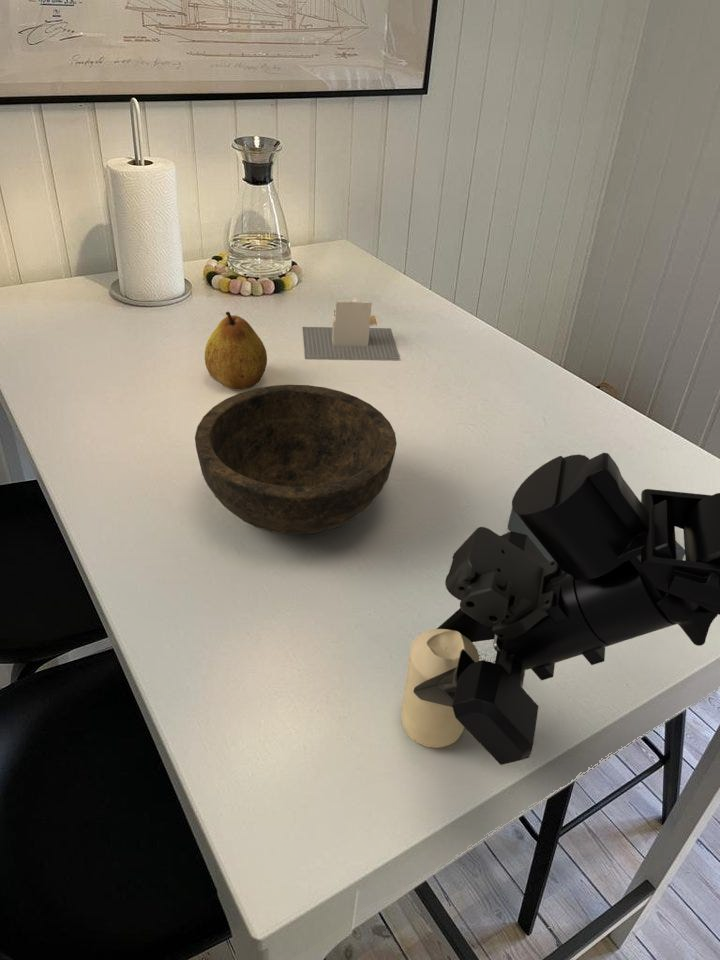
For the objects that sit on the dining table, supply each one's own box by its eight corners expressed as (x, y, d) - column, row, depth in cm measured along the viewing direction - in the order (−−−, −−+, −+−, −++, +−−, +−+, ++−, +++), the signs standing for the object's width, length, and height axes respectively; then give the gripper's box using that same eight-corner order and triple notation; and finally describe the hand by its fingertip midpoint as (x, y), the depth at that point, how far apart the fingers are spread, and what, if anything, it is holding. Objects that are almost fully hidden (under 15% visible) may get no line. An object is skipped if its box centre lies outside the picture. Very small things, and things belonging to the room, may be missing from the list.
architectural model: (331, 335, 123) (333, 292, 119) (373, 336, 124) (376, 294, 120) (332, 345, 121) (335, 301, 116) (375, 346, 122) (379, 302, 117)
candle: (429, 683, 68) (442, 606, 62) (477, 722, 65) (496, 644, 59) (387, 718, 65) (397, 640, 59) (436, 760, 62) (451, 683, 56)
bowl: (427, 517, 88) (438, 446, 82) (276, 601, 75) (276, 525, 69) (309, 433, 100) (311, 366, 94) (164, 494, 88) (156, 422, 82)
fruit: (243, 360, 115) (241, 286, 108) (279, 385, 109) (279, 308, 102) (194, 376, 110) (188, 299, 103) (229, 403, 105) (225, 323, 97)
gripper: (544, 449, 57) (392, 526, 66) (510, 622, 43) (322, 691, 52) (622, 550, 60) (468, 611, 69) (616, 744, 46) (422, 789, 55)
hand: (425, 665), depth 61 cm, fingers closed on candle, 5 cm apart
